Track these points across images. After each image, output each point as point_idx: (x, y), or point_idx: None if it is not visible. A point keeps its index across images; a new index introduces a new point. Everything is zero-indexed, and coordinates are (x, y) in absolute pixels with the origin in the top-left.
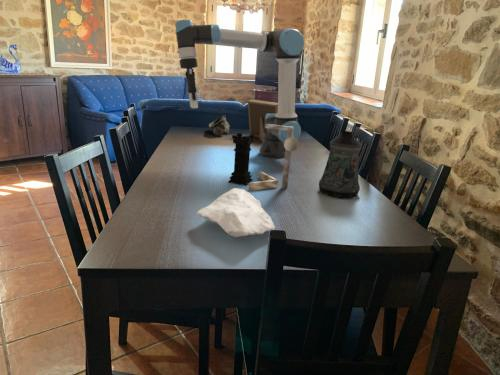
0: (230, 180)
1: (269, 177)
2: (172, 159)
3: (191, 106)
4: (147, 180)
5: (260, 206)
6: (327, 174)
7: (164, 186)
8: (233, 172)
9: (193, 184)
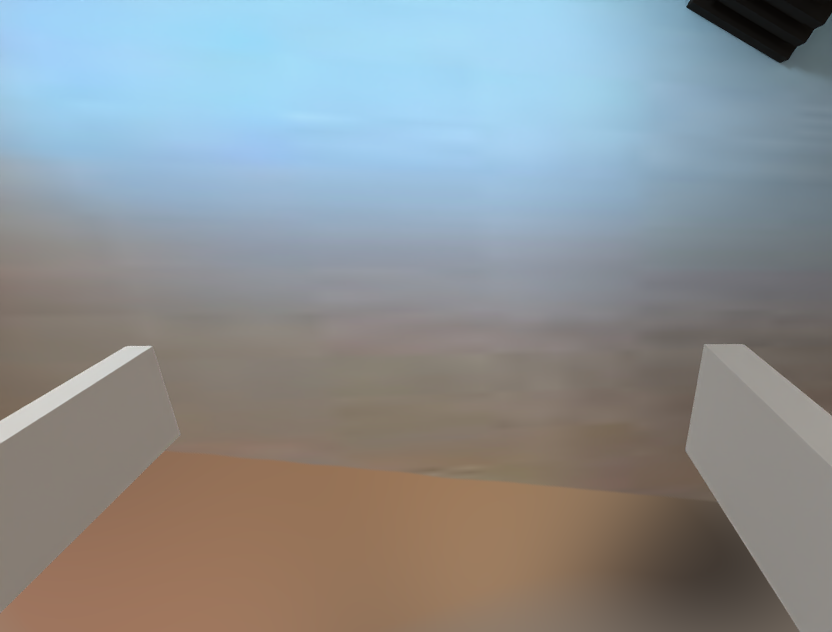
0: (784, 45)
1: None
2: (317, 375)
3: (164, 430)
4: None
5: None
6: None
7: None
8: (805, 6)
9: (788, 263)
